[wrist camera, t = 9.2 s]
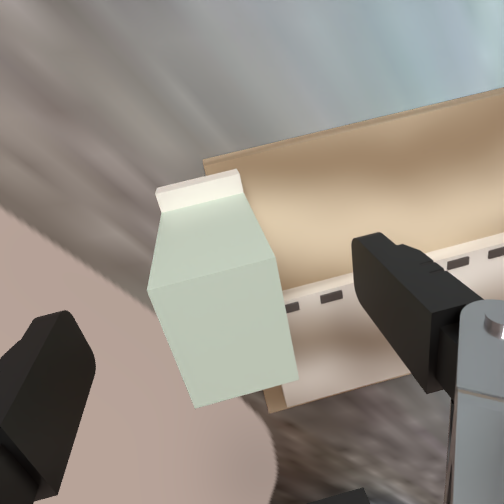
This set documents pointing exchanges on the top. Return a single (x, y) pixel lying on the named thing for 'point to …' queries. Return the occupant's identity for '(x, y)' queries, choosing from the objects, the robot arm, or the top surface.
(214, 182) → the pale green juice carton
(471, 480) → the robot arm
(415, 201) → the board
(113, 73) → the top surface
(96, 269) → the top surface
